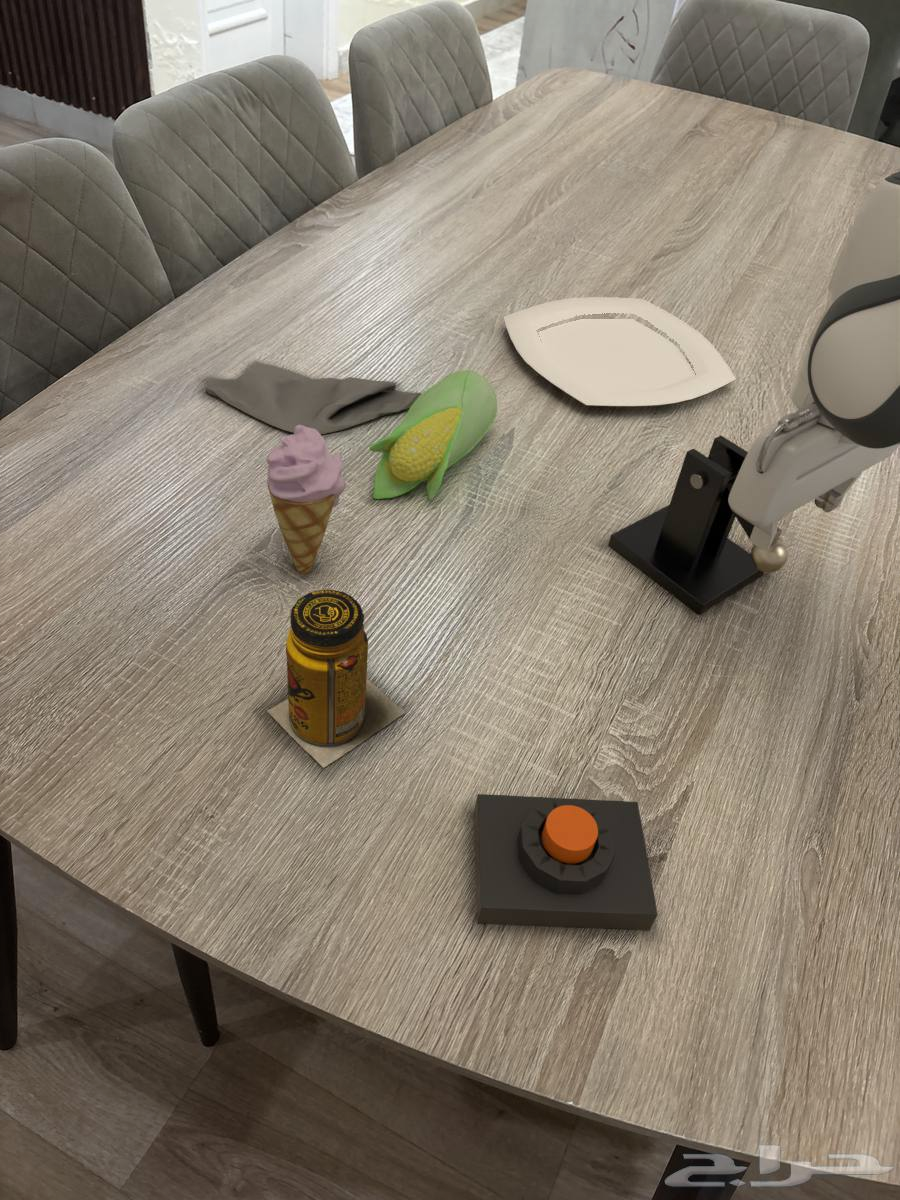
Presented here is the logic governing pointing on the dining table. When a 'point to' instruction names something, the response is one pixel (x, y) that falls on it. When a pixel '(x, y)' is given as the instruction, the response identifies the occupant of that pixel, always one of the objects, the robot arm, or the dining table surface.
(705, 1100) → the dining table surface
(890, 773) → the dining table surface
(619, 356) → the plate
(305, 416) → the cloth
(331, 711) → the condiment
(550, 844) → the power button
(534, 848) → the dark grey button base
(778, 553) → the switch lever
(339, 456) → the ice cream cone
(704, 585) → the ball handle lever stand
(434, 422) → the corn
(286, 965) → the dining table surface
